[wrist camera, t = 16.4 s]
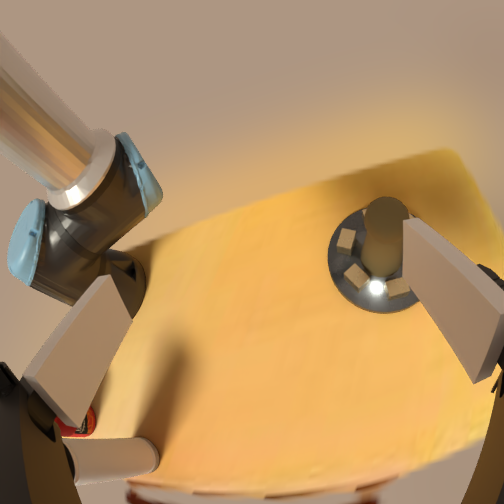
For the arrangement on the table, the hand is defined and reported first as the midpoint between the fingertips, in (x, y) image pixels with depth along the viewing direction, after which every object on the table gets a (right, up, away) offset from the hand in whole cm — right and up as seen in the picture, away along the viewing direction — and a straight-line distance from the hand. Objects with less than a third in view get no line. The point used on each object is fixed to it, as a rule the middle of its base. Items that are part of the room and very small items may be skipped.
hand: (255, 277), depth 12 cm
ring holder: (+18, 0, +26) cm, 32 cm away
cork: (+17, 0, +25) cm, 31 cm away
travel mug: (-17, -30, +23) cm, 42 cm away
